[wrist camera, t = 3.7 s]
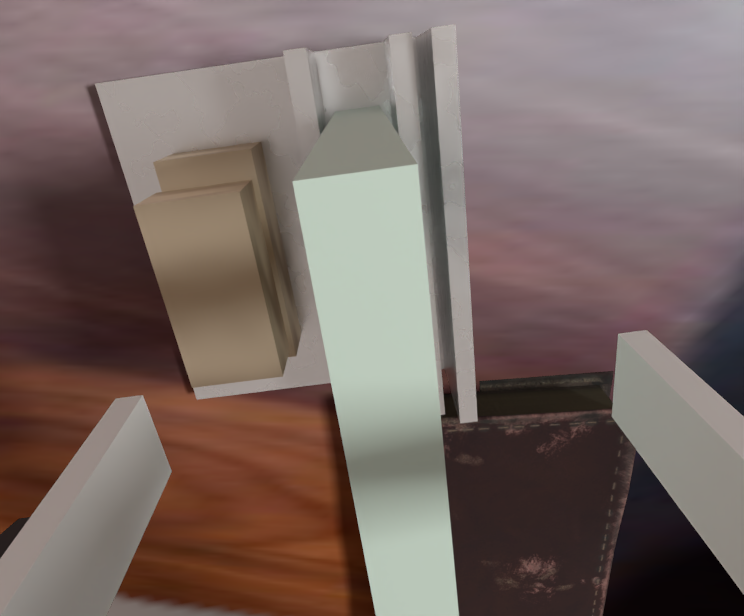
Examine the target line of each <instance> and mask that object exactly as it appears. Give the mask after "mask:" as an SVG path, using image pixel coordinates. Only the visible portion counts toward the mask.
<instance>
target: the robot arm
mask: <svg viewBox="0 0 744 616" xmlns="http://www.w3.org/2000/svg"><path fill="white" fill-rule="evenodd" d="M612 418H613V419H614V420H615V422H616V423H617V424H618V426H619V427H620V428H621V430H622V431H623V432H624V434H625V435H626V436H627V438H628V439H629V440H630V442H631V443H632V445H633V446H634V447H635V449H636V450H637V451H638V453H639V454H640V455H641V457H642V458H643V459H644V461H645V462H646V463H647V465H648V466H649V467H650V469H651V470H652V472H653V473H654V474H655V476H656V477H657V478H658V480H659V481H660V482H661V484H662V485H663V486H664V488H665V489H666V490H667V492H668V493H669V494H670V496H671V497H672V498H673V500H674V501H675V503H676V504H677V505H678V507H679V508H680V509H681V511H682V512H683V513H684V515H685V516H686V517H687V519H688V520H689V521H690V523H691V524H692V525H693V527H694V528H695V530H696V531H697V532H698V534H699V535H700V536H701V538H702V539H703V540H704V542H705V543H706V544H707V546H708V547H709V548H710V550H711V551H712V552H713V554H714V555H715V557H716V558H717V559H718V561H719V562H720V563H721V565H722V566H723V567H724V569H725V570H726V571H727V573H728V574H729V575H730V577H731V578H732V579H733V581H734V582H735V583H736V585H737V586H738V588H739V589H740V590H741V592H742V593H743V594H744V417H743V416H742V415H741V414H740V413H739V412H738V411H737V410H736V409H734V408H733V407H732V406H731V405H730V404H729V403H728V402H727V401H726V400H724V399H723V398H722V397H721V396H720V395H719V394H718V393H717V392H715V391H714V390H713V389H712V388H711V387H710V386H709V385H708V384H706V383H705V382H704V381H703V380H702V379H701V378H700V377H699V376H698V375H696V374H695V373H694V372H693V371H692V370H691V369H690V368H689V367H687V366H686V365H685V364H684V363H683V362H682V361H681V360H680V359H679V358H677V357H676V356H675V355H674V354H673V353H672V352H671V351H670V350H668V349H667V348H666V347H665V346H664V345H663V344H662V343H661V342H659V341H658V340H657V339H656V338H655V337H654V336H653V335H652V334H651V333H649V332H648V331H647V330H644V331H636V332H629V333H621V334H618V344H617V356H616V369H615V382H614V394H613V407H612ZM171 472H172V471H171V468H170V465H169V463H168V460H167V458H166V455H165V452H164V450H163V447H162V444H161V442H160V439H159V436H158V434H157V431H156V429H155V426H154V423H153V421H152V418H151V415H150V413H149V410H148V408H147V405H146V402H145V400H144V397H143V395H140V396H132V397H124V398H116V399H115V400H114V402H113V403H112V404H111V406H110V407H109V409H108V410H107V411H106V413H105V414H104V416H103V417H102V418H101V420H100V421H99V422H98V424H97V425H96V427H95V428H94V429H93V431H92V432H91V434H90V435H89V436H88V438H87V439H86V441H85V442H84V443H83V445H82V446H81V447H80V449H79V450H78V452H77V453H76V454H75V456H74V457H73V459H72V460H71V461H70V463H69V464H68V465H67V467H66V468H65V470H64V471H63V472H62V474H61V475H60V477H59V478H58V479H57V481H56V482H55V484H54V485H53V486H52V488H51V489H50V490H49V492H48V493H47V495H46V496H45V497H44V499H43V500H42V502H41V503H40V504H39V506H38V507H37V508H36V510H35V511H34V513H33V514H32V515H31V517H28V518H20V519H18V520H17V521H16V522H14V523H13V524H12V525H11V526H10V527H9V528H7V529H6V530H5V531H4V532H3V533H2V534H0V616H107V614H108V612H109V609H110V607H111V605H112V603H113V600H114V598H115V596H116V594H117V592H118V589H119V587H120V585H121V583H122V581H123V578H124V576H125V574H126V572H127V569H128V567H129V565H130V563H131V561H132V558H133V556H134V554H135V552H136V550H137V547H138V545H139V543H140V541H141V538H142V536H143V534H144V532H145V530H146V527H147V525H148V523H149V521H150V519H151V516H152V514H153V512H154V510H155V507H156V505H157V503H158V501H159V499H160V496H161V494H162V492H163V490H164V488H165V485H166V483H167V481H168V479H169V476H170V474H171Z"/></svg>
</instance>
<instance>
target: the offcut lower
mask: <svg viewBox="0 0 744 616" xmlns="http://www.w3.org/2000/svg"><path fill="white" fill-rule="evenodd" d="M153 164H154V167H155V171H156V174H157V177H158V181H159V184H160V188H161V191H162V192H165V191H173V190H180V189H187V188H195V187H202V186H209V185H216V184H224V183H231V182H238V181H245V180H252V183H253V188H254V192H255V197H256V201H257V206H258V210H259V215H260V219H261V224H262V228H263V232H264V237H265V241H266V246H267V250H268V255H269V259H270V264H271V268H272V273H273V277H274V282H275V286H276V291H277V295H278V299H279V304H280V308H281V313H282V317H283V322H284V326H285V331H286V335H287V340H288V344H289V349H290V350H289V354H288V357H294V356H296V355H297V351H298V346H299V342H300V337H301V329H300V324H299V320H298V315H297V310H296V305H295V300H294V296H293V291H292V286H291V281H290V277H289V272H288V267H287V262H286V258H285V253H284V248H283V243H282V239H281V234H280V229H279V224H278V220H277V215H276V210H275V205H274V201H273V196H272V191H271V186H270V181H269V177H268V172H267V167H266V162H265V158H264V153H263V148H262V143H261V142H254V143H247V144H240V145H233V146H226V147H218V148H211V149H204V150H197V151H190V152H183V153H176V154H171V155H169V156H167V157H164V158H162V159H160V160H157V161H155V162H153Z"/></svg>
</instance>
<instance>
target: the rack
mask: <svg viewBox="0 0 744 616" xmlns="http://www.w3.org/2000/svg"><path fill="white" fill-rule="evenodd" d="M283 55H284V56H283V57H276V58H269V59H262V60H255V61H248V62H241V63H235V64H228V65H221V66H214V67H207V68H200V69H193V70H186V71H179V72H173V73H166V74H159V75H152V76H145V77H138V78H131V79H124V80H117V81H111V82H104V83H97V84H95V86H96V89H97V92H98V95H99V99H100V102H101V105H102V108H103V111H104V114H105V117H106V120H107V123H108V126H109V129H110V133H111V136H112V139H113V142H114V145H115V148H116V151H117V154H118V157H119V160H120V164H121V167H122V170H123V173H124V176H125V179H126V182H127V185H128V188H129V191H130V194H131V198H132V201H133V204H134V206H135V205H136V204H138V203H140V202H141V201H143V200H145V199H146V198H148V197H150V196H152V195H153V194H155V193H158V192H162V191H161V188H160V184H159V181H158V177H157V174H156V171H155V167H154V164H153V162H155V161H157V160H160V159H162V158H164V157H167V156H169V155H171V154H176V153H183V152H190V151H197V150H204V149H211V148H218V147H226V146H233V145H240V144H247V143H254V142H261V143H262V148H263V153H264V158H265V162H266V167H267V172H268V177H269V181H270V186H271V191H272V196H273V201H274V205H275V210H276V215H277V220H278V224H279V229H280V234H281V239H282V243H283V248H284V253H285V258H286V262H287V267H288V272H289V277H290V281H291V286H292V291H293V296H294V300H295V305H296V310H297V315H298V320H299V324H300V329H301V337H300V342H299V346H298V351H297V355H296V356H294V357H288V358H287V362H286V366H285V370H284V374H283V377H275V378H267V379H259V380H251V381H243V382H235V383H227V384H219V385H211V386H203V387H195V388H193V389H194V392H195V395H196V399H205V398H213V397H221V396H229V395H237V394H245V393H253V392H261V391H269V390H277V389H285V388H293V387H301V386H309V385H317V384H325V383H331V380H330V375H329V369H328V364H327V359H326V354H325V349H324V343H323V338H322V333H321V328H320V323H319V317H318V312H317V307H316V302H315V297H314V291H313V286H312V281H311V276H310V270H309V265H308V260H307V255H306V250H305V244H304V239H303V234H302V229H301V224H300V218H299V213H298V208H297V203H296V198H295V192H294V187H293V182H292V181H293V179H294V178H295V176H296V175H297V173H298V171H299V170H300V168H301V166H302V165H303V163H304V162H305V160H306V158H307V157H308V155H309V153H310V152H311V150H312V148H313V147H314V145H315V144H316V142H317V140H318V139H319V137H320V135H321V134H322V132H323V131H324V129H325V127H326V126H327V124H328V122H329V121H330V119H331V118H332V116H333V114H334V113H335V111H342V110H349V109H356V108H363V107H371V106H378V105H379V106H380V107H381V109H382V110H383V112H384V113H385V115H386V117H387V118H388V120H389V121H390V123H391V124H392V126H393V127H394V129H395V130H396V132H397V133H398V135H399V136H400V138H401V139H402V141H403V143H404V144H405V146H406V147H407V149H408V150H409V152H410V153H411V155H412V156H413V158H414V159H415V161H416V162H417V164H418V174H419V185H420V196H421V207H422V218H423V228H424V239H425V250H426V261H427V272H428V283H429V294H430V305H431V316H432V327H433V337H434V348H435V359H436V370H437V381H438V392H439V403H440V414H441V415H444V414H445V407H444V395H443V384H442V372H441V369H444V370H445V373H446V377H447V380H448V383H449V387H450V390H451V394H452V397H453V401H454V404H455V408H456V411H457V414H458V418H459V421H460V423H468V422H476V421H478V418H477V400H476V383H475V365H474V347H473V329H472V311H471V294H470V276H469V258H468V240H467V222H466V204H465V187H464V169H463V151H462V133H461V115H460V98H459V80H458V62H457V44H456V26H455V24H453V25H446V26H440V27H433V28H430V29H428V30H427V31H425V32H424V33H422V34H420V35H419V36H417V37H414V38H412V32H408V33H401V34H395V35H389V36H388V37H387V38H386V39H385V41H384V42H379V43H372V44H365V45H359V46H352V47H345V48H338V49H331V50H324V51H317V52H314V51H312V50H310V49H308V48H306V47H305V48H298V49H291V50H285V51H283Z"/></svg>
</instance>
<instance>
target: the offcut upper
mask: <svg viewBox="0 0 744 616" xmlns="http://www.w3.org/2000/svg"><path fill="white" fill-rule="evenodd" d="M133 208H134V211H135V214H136V217H137V220H138V223H139V226H140V229H141V232H142V235H143V239H144V242H145V245H146V248H147V251H148V254H149V257H150V260H151V263H152V266H153V269H154V272H155V276H156V279H157V282H158V285H159V288H160V291H161V294H162V297H163V300H164V303H165V306H166V309H167V313H168V316H169V319H170V322H171V325H172V328H173V331H174V334H175V337H176V340H177V343H178V346H179V350H180V353H181V356H182V359H183V362H184V365H185V368H186V371H187V374H188V377H189V380H190V383H191V387H192V388H195V387H203V386H211V385H219V384H227V383H235V382H243V381H251V380H259V379H267V378H275V377H283V374H284V370H285V366H286V362H287V358H288V354H289V350H290V349H289V344H288V340H287V335H286V331H285V326H284V322H283V317H282V313H281V308H280V304H279V299H278V295H277V291H276V286H275V282H274V277H273V273H272V268H271V264H270V259H269V255H268V250H267V246H266V241H265V237H264V232H263V228H262V224H261V219H260V215H259V210H258V206H257V201H256V197H255V192H254V188H253V183H252V180H245V181H238V182H231V183H224V184H216V185H209V186H202V187H195V188H187V189H180V190H173V191H165V192H158V193H155V194H153V195H152V196H150V197H148V198H146V199H145V200H143V201H141V202H140V203H138V204H136V205H135V206H133Z"/></svg>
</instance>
